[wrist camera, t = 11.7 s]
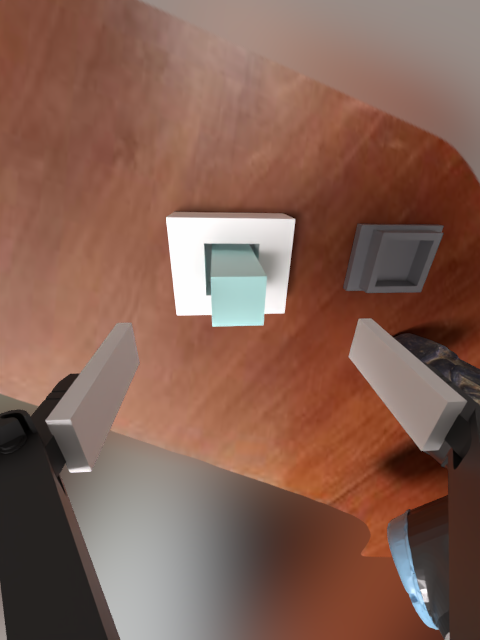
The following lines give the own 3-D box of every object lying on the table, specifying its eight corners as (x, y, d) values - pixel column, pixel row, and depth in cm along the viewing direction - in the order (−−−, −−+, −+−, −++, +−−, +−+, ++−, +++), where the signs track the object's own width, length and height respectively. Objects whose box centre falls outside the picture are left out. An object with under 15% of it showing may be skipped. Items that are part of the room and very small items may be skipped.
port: (282, 213, 28) (295, 218, 24) (275, 295, 33) (284, 313, 29) (173, 211, 27) (166, 217, 23) (181, 297, 32) (176, 315, 28)
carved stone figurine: (349, 352, 39) (419, 439, 26) (427, 316, 37) (545, 390, 24) (359, 376, 41) (426, 466, 28) (432, 344, 40) (541, 424, 26)
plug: (247, 241, 29) (267, 276, 18) (246, 276, 31) (263, 325, 20) (212, 241, 28) (210, 276, 18) (213, 276, 30) (212, 326, 20)
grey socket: (437, 224, 31) (458, 228, 28) (414, 287, 34) (430, 295, 32) (357, 223, 30) (371, 227, 27) (343, 287, 34) (353, 296, 31)
